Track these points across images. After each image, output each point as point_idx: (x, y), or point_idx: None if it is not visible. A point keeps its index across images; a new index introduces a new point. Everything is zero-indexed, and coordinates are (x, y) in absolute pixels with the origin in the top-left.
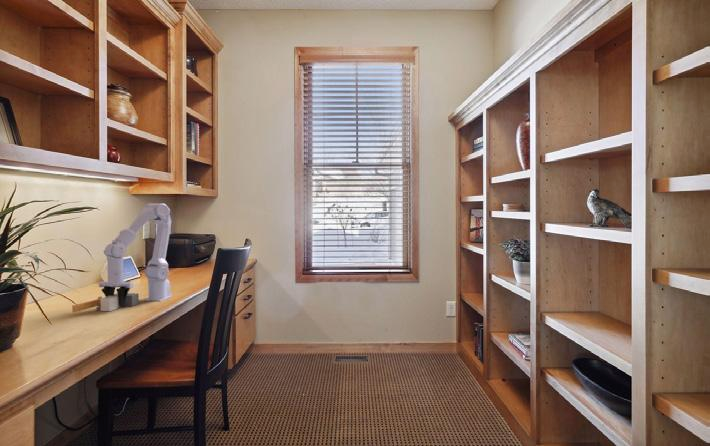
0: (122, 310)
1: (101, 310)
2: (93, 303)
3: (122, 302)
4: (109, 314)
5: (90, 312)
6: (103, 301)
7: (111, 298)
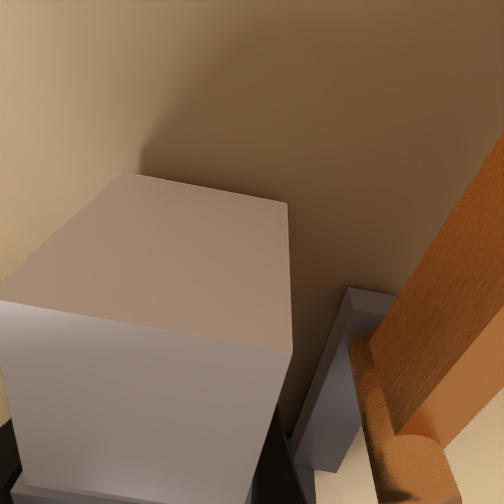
0: (23, 254)
1: (275, 204)
2: (458, 287)
3: None
4: (21, 9)
5: (444, 178)
6: (207, 286)
7: (2, 356)
